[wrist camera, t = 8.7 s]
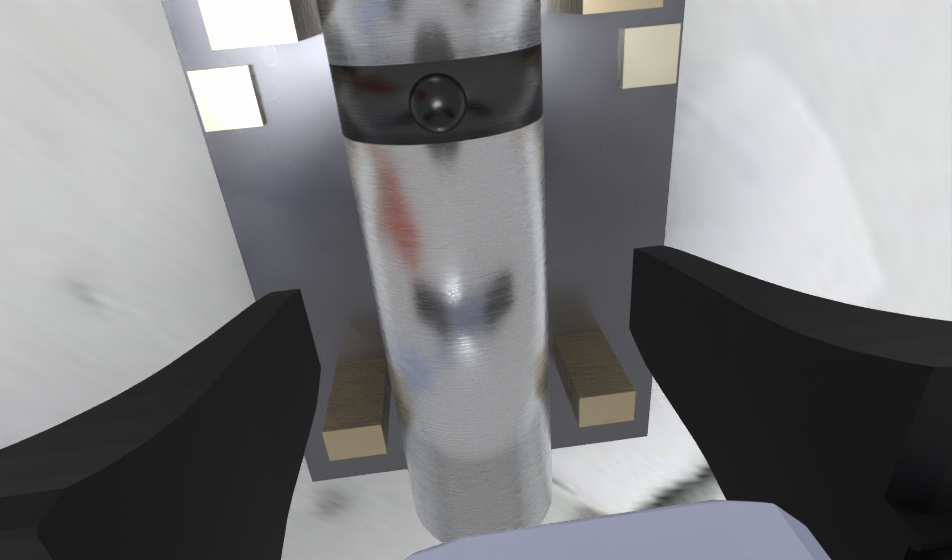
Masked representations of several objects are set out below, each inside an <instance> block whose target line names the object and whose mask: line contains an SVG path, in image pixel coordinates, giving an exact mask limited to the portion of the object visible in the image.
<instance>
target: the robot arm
mask: <svg viewBox="0 0 952 560" xmlns="http://www.w3.org/2000/svg"><path fill="white" fill-rule="evenodd" d="M629 329H630V331H631V334H632V336H633V338H634V341H635V343H636V345H637V348H638V350H639V352H640V354H641V356H642V358H643V361H644V363H645V364H646V366H647V368H648V369H649V371H650V373H651V374H652V376H653V377H654V379H655V380H656V382H657V383H658V385H659V387H660V388H661V390H662V391H663V393H664V394H665V396H666V397H667V399H668V400H669V402H670V403H671V405H672V407H673V408H674V410H675V411H676V413H677V414H678V416H679V417H680V419H681V420H682V422H683V423H684V425H685V426H686V428H687V429H688V431H689V433H690V434H691V436H692V437H693V439H694V440H695V442H696V443H697V445H698V447H699V449H700V450H701V452H702V454H703V455H704V457H705V459H706V461H707V462H708V464H709V466H710V468H711V470H712V472H713V474H714V476H715V478H716V480H717V482H718V484H719V486H720V488H721V490H722V492H723V494H724V496H725V498H726V500H708V501H701V502H694V503H687V504H680V505H674V506H667V507H660V508H653V509H646V510H639V511H633V512H626V513H619V514H612V515H605V516H598V517H592V518H585V519H578V520H571V521H564V522H557V523H551V524H544V525H537V526H530V527H523V528H516V529H510V530H503V531H496V532H489V533H482V534H475V535H469V536H464V537H461V538H458V539H455V540H452V541H449V542H446V543H443V544H440V545H437V546H434V547H431V548H428V549H425V550H422V551H419V552H416V553H413V554H412V555H411V556H409V557H408V558H406V559H405V560H952V321H944V320H937V319H930V318H923V317H916V316H909V315H904V314H898V313H892V312H887V311H881V310H875V309H870V308H865V307H860V306H855V305H850V304H846V303H842V302H838V301H834V300H829V299H825V298H821V297H817V296H813V295H809V294H806V293H802V292H799V291H795V290H792V289H789V288H785V287H782V286H779V285H776V284H773V283H770V282H767V281H763V280H760V279H758V278H755V277H752V276H749V275H746V274H743V273H741V272H738V271H735V270H732V269H730V268H727V267H724V266H722V265H719V264H716V263H714V262H711V261H708V260H706V259H703V258H700V257H698V256H695V255H692V254H690V253H687V252H684V251H681V250H678V249H675V248H671V247H667V246H663V245H659V246H650V247H642V248H634V251H633V269H632V286H631V303H630V320H629ZM320 373H321V365H320V361H319V358H318V354H317V350H316V346H315V343H314V339H313V335H312V331H311V328H310V324H309V320H308V316H307V313H306V309H305V305H304V301H303V298H302V294H301V290H300V289H292V290H284V291H275V292H270V293H268V294H267V295H265V296H263V297H262V298H260V299H259V300H257V301H256V302H255V303H253V304H252V305H250V306H249V307H248V308H246V309H245V310H244V311H242V312H241V313H240V314H238V315H237V316H236V317H235V318H233V319H232V320H231V321H229V322H228V323H227V324H225V325H224V326H223V327H221V328H220V329H219V330H217V331H216V332H215V333H213V334H212V335H211V336H209V337H208V338H207V339H205V340H204V341H202V342H201V343H199V344H198V345H196V346H195V347H194V348H192V349H191V350H189V351H188V352H186V353H185V354H183V355H182V356H181V357H179V358H178V359H176V360H175V361H173V362H172V363H171V364H169V365H168V366H166V367H164V368H163V369H161V370H160V371H158V372H156V373H155V374H153V375H152V376H150V377H148V378H147V379H145V380H143V381H142V382H140V383H138V384H136V385H135V386H133V387H131V388H129V389H128V390H126V391H124V392H122V393H121V394H119V395H117V396H115V397H113V398H111V399H109V400H108V401H106V402H103V403H101V404H99V405H97V406H95V407H93V408H91V409H89V410H87V411H85V412H83V413H81V414H79V415H77V416H75V417H73V418H71V419H69V420H67V421H65V422H63V423H61V424H59V425H57V426H54V427H52V428H50V429H48V430H46V431H43V432H41V433H39V434H36V435H34V436H32V437H29V438H27V439H25V440H22V441H20V442H18V443H15V444H13V445H10V446H8V447H5V448H3V449H0V560H281V555H282V549H283V542H284V536H285V530H286V523H287V518H288V513H289V509H290V504H291V500H292V496H293V492H294V489H295V485H296V481H297V478H298V474H299V470H300V467H301V463H302V460H303V456H304V452H305V449H306V445H307V441H308V438H309V434H310V430H311V427H312V423H313V419H314V415H315V411H316V407H317V400H318V392H319V383H320Z"/></svg>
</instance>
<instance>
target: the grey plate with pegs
mask: <svg viewBox="0 0 952 560" xmlns="http://www.w3.org/2000/svg"><path fill="white" fill-rule="evenodd" d="M161 1H162V4H163V8H164V11H165V14H166V17H167V20H168V23H169V27H170V30H171V33H172V36H173V39H174V42H175V46H176V49H177V52H178V55H179V58H180V62H181V65H182V68H183V71H184V74H185V77H186V81H187V84H188V87H189V90H190V93H191V96H192V100H193V103H194V106H195V109H196V112H197V116H198V119H199V122H200V125H201V128H202V131H203V135H204V138H205V141H206V144H207V147H208V151H209V154H210V157H211V160H212V163H213V166H214V170H215V173H216V176H217V179H218V182H219V185H220V189H221V192H222V195H223V198H224V201H225V205H226V208H227V211H228V214H229V217H230V220H231V224H232V227H233V230H234V233H235V236H236V239H237V243H238V246H239V249H240V252H241V255H242V259H243V262H244V265H245V268H246V271H247V274H248V278H249V281H250V284H251V287H252V290H253V294H254V297H255V300H256V301H257V300H259V299H260V298H262V297H263V296H265V295H267V294H268V293H270V292H275V291H284V290H292V289H300V290H301V294H302V298H303V301H304V305H305V309H306V313H307V316H308V320H309V324H310V328H311V331H312V335H313V339H314V343H315V346H316V350H317V354H318V358H319V361H320V365H321V373H320V383H319V392H318V400H317V407H316V411H315V415H314V419H313V423H312V427H311V430H310V434H309V438H308V441H307V445H306V449H305V452H304V456H305V459H306V462H307V465H308V468H309V471H310V475H311V478H312V481H313V482H314V481H321V480H328V479H336V478H343V477H350V476H358V475H365V474H372V473H380V472H387V471H394V470H402V469H408V466H407V461H406V456H405V451H404V446H403V441H402V436H401V431H400V426H399V420H398V415H397V410H396V405H395V400H394V395H393V390H392V385H391V380H390V374H389V369H388V364H387V359H386V354H385V349H384V344H383V339H382V334H381V328H380V323H379V318H378V313H377V308H376V303H375V298H374V293H373V288H372V282H371V277H370V272H369V267H368V262H367V257H366V252H365V247H364V242H363V236H362V231H361V226H360V221H359V216H358V211H357V206H356V201H355V195H354V190H353V185H352V180H351V175H350V170H349V165H348V160H347V155H346V149H345V144H344V139H343V134H342V129H341V124H340V119H339V114H338V109H337V103H336V98H335V93H334V88H333V83H332V78H331V73H330V68H329V63H328V57H327V52H326V47H325V42H324V37H323V32H322V27H321V22H320V17H319V11H318V6H317V1H316V0H161ZM684 8H685V0H541V40H542V83H543V125H544V167H545V210H546V252H547V295H548V337H549V379H550V422H551V449H556V448H563V447H570V446H578V445H585V444H592V443H600V442H607V441H614V440H622V439H629V438H636V437H644V436H647V433H648V421H649V410H650V398H651V387H652V374H651V373H650V371H649V369H648V368H647V366H646V364H645V363H644V361H643V358H642V356H641V354H640V352H639V350H638V348H637V345H636V343H635V341H634V338H633V336H632V334H631V331H630V329H629V320H630V303H631V286H632V269H633V251H634V248H642V247H650V246H659V245H663V246H664V238H665V226H666V215H667V203H668V192H669V180H670V169H671V157H672V146H673V134H674V123H675V111H676V100H677V88H678V77H679V65H680V54H681V42H682V31H683V19H684Z"/></svg>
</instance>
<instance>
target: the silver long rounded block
mask: <svg viewBox="0 0 952 560" xmlns="http://www.w3.org/2000/svg"><path fill="white" fill-rule="evenodd" d="M316 1H317V6H318V11H319V17H320V22H321V27H322V32H323V37H324V42H325V47H326V52H327V57H328V63H329V68H330V73H331V78H332V83H333V88H334V93H335V98H336V103H337V109H338V114H339V119H340V124H341V129H342V134H343V139H344V144H345V149H346V155H347V160H348V165H349V170H350V175H351V180H352V185H353V190H354V195H355V201H356V206H357V211H358V216H359V221H360V226H361V231H362V236H363V242H364V247H365V252H366V257H367V262H368V267H369V272H370V277H371V282H372V288H373V293H374V298H375V303H376V308H377V313H378V318H379V323H380V328H381V334H382V339H383V344H384V349H385V354H386V359H387V364H388V369H389V374H390V380H391V385H392V390H393V395H394V400H395V405H396V410H397V415H398V420H399V426H400V431H401V436H402V441H403V446H404V451H405V456H406V461H407V466H408V472H409V477H410V482H411V487H412V492H413V497H414V502H415V507H416V511H417V514H418V517H419V519H420V521H421V523H422V524H423V526H424V527H425V528H426V529H427V531H428V532H430V533H431V534H432V535H433V536H434V537H435V538H437V539H438V540H440V541H441V542H443V543H446V542H449V541H452V540H455V539H458V538H461V537H464V536H469V535H475V534H482V533H489V532H496V531H503V530H510V529H516V528H523V527H530V526H537V525H540V523H541V522H542V521H543V519H544V518H545V516H546V514H547V512H548V510H549V507H550V504H551V499H552V464H551V422H550V379H549V337H548V295H547V252H546V210H545V167H544V125H543V83H542V40H541V0H316Z"/></svg>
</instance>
